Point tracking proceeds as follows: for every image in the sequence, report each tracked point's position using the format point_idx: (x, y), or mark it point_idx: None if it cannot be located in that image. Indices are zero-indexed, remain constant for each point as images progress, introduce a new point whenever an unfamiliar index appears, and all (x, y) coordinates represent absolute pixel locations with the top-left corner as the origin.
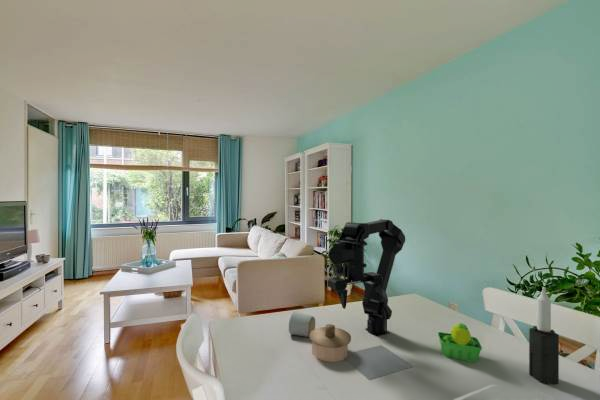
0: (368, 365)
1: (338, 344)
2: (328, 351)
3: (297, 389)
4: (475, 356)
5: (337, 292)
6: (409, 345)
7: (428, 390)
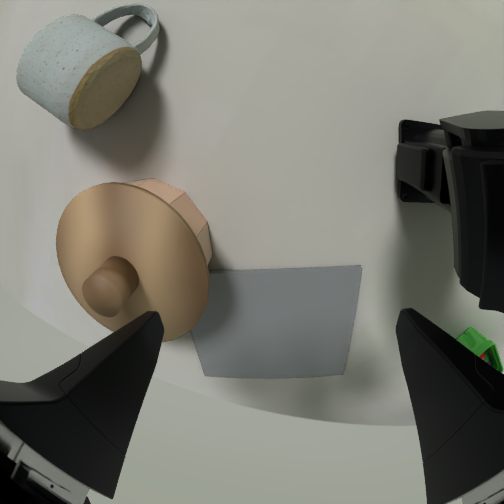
0: (234, 343)
1: None
2: None
3: (72, 329)
4: None
5: (37, 390)
6: (438, 289)
7: (300, 412)
